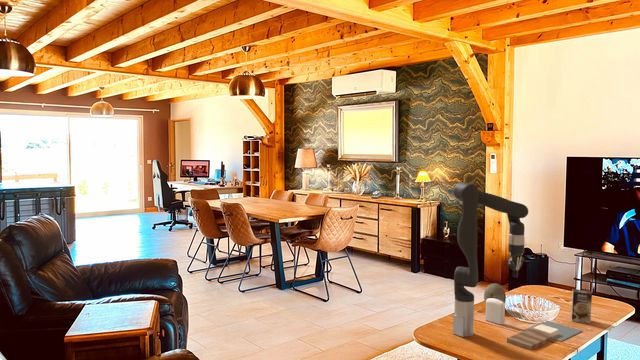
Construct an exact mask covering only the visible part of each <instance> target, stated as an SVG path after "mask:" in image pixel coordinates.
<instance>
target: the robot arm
mask: <svg viewBox="0 0 640 360" xmlns="http://www.w3.org/2000/svg"><path fill="white" fill-rule="evenodd" d="M453 195H454V197H455V198H456V199H457V200H458V201H461V202H462V216H461V219H460V220H459V223H458V225H457V229H456V230H457V233H456V235H457V237H456V238H457V239H456V240H457V243H458V244H457V245H458V246H459V248H460V250H461V251H462V253H463V254H464V256H465V258H466V260H467V264H468V267H466V266H456V268H455V269H454V273H453V285H454V287H453V290H454V291H453V293H454V312H453V313H454V314H453V316H452V317H453V319H452V334H453V335H456V336H459V337H462V338H466V337H472V336H474V323H475V322H474V320H475V319H474V317H475V314H474V313H475V294H474V293H473V292H472V291H470V290H469V289H466V287H468V288H476V287H477V286H478V283H479V266H478V253H477V252H478V207H479V206H478V205H481V206H484V207H487V208H488V209H492V210H493V211H494V210H495V211H497V212H499V213H502V214H503V213H504V214H506V216H507V221H508V224H509V232H508V233H509V234H508V243H507V245H508V247H507V249H508V250H507V251H508V253H510V254H509V259H507V260H506V263H507V265H508V267H509V269H510V270H512V277H513V278H518V277H519V270H520V269H521V268H522V266H523V264H524V263H525V262H524V261H525V259H526V257H524V256H523V254H524V253H525V242H526V241H525V224H524V222H522V221H521V219H523V218H524V219H525V218H526V217H527V216H528V215H529V208H528V206H526V205H525V204H524V203H520V202H518V201H517V202H516V201H512V200H509V199H508V198H504V197H501V196H499V195H496V194H492V193H490V192H486V191H485V192H484V191H481V190H479V188H478V187H477V185H476V184H473V183H472V182H471V183H470V182H466V181H462V182H458V183H456V184H455V185H454V187H453Z"/></svg>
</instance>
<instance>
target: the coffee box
mask: <svg viewBox="0 0 640 360" xmlns="http://www.w3.org/2000/svg"><path fill="white" fill-rule="evenodd" d="M571 291H572V293H571V295H572V296H571V309H570V320H571V322H575V323H583V324H585V323H586V324H591V316H592V315H591V314H592V302H593V299H592V298H593V294H592V291H591V290H585V289H575V288H572V290H571Z"/></svg>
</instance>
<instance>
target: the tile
mask: <svg viewBox="0 0 640 360" xmlns="http://www.w3.org/2000/svg"><path fill="white" fill-rule="evenodd" d="M533 330H535V331H538V332H542V333H545V334H548V335H551V336H553V337H554V336H556V335H558V333H559V329H556V328H552V327H549V326H545V325H542V324H541V325H538V326H536V327H533Z"/></svg>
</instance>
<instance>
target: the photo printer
mask: <svg viewBox="0 0 640 360" xmlns="http://www.w3.org/2000/svg"><path fill="white" fill-rule="evenodd" d="M505 303H506V302H505ZM505 303H504V302H502V301H501V300H498V299H495V298H489V299H487V300H486V303H485V314H484V315H485V317H484V318H485V319H484V320H485V321H488V322H491V323H494V324H497V325H502V324H503V325H505V321H506V318H505V317H506V316H505V315H506V313H505V311H506V304H505Z"/></svg>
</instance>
